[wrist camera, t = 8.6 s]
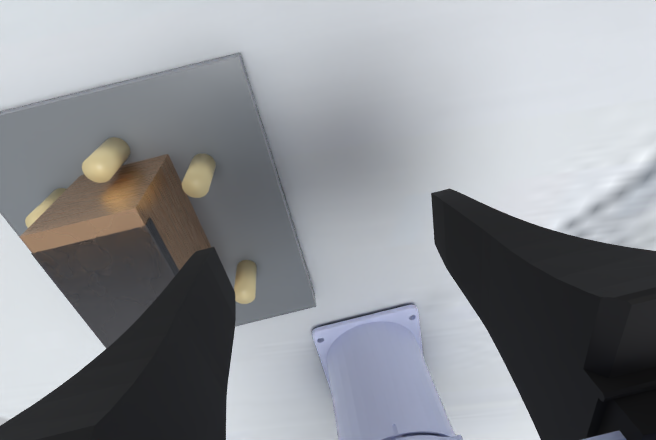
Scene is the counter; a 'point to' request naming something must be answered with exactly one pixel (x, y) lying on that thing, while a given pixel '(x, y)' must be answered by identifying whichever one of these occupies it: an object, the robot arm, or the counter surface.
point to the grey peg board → (188, 160)
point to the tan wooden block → (117, 242)
